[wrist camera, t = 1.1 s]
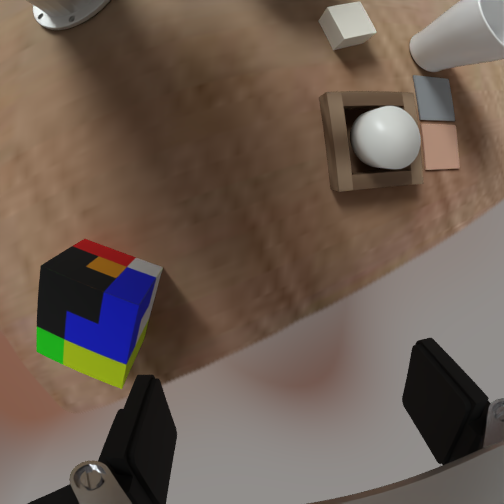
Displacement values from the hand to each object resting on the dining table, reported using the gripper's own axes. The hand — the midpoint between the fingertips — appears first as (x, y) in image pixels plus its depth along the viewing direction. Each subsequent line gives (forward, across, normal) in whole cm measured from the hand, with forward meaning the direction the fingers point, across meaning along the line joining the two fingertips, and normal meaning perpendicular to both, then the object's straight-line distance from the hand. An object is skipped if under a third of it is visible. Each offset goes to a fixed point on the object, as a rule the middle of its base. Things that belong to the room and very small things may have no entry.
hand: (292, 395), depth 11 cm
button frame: (+25, -13, -10) cm, 30 cm away
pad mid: (+25, -23, -15) cm, 37 cm away
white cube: (+25, -12, -22) cm, 36 cm away
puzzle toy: (+25, +17, +5) cm, 31 cm away
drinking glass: (+25, -23, -21) cm, 40 cm away
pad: (+25, -23, -9) cm, 35 cm away
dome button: (+23, -13, -9) cm, 28 cm away
